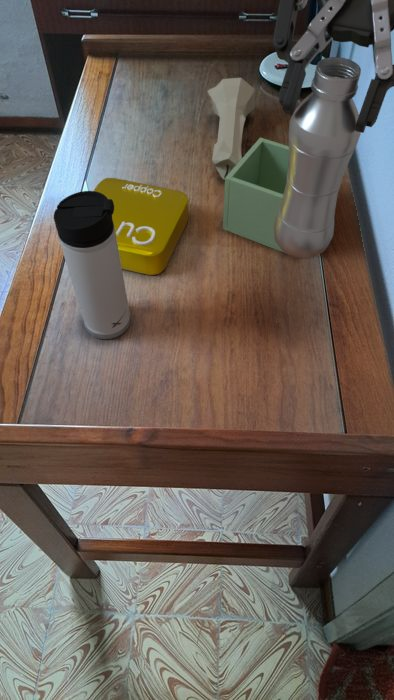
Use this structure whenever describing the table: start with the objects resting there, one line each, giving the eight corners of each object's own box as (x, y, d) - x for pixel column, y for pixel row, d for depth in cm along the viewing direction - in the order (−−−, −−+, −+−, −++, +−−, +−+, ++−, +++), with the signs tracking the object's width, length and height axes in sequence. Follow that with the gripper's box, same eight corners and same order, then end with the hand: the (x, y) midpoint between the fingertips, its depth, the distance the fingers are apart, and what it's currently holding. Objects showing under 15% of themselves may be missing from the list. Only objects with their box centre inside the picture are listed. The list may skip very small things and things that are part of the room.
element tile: (192, 214, 83) (191, 189, 79) (160, 279, 74) (158, 255, 70) (107, 196, 85) (102, 171, 81) (67, 257, 77) (60, 233, 73)
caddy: (324, 213, 83) (337, 161, 75) (295, 257, 77) (306, 206, 69) (254, 188, 86) (260, 137, 78) (222, 229, 81) (224, 177, 73)
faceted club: (260, 106, 99) (256, 192, 86) (218, 115, 102) (208, 200, 88) (251, 61, 92) (246, 148, 79) (206, 72, 95) (194, 158, 81)
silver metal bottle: (302, 275, 56) (346, 98, 39) (258, 243, 59) (282, 65, 42) (340, 247, 58) (396, 70, 42) (296, 218, 61) (332, 40, 45)
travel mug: (131, 339, 68) (110, 224, 52) (82, 340, 68) (46, 225, 52) (134, 304, 72) (115, 185, 55) (87, 304, 72) (54, 186, 55)
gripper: (304, -143, 39) (236, 87, 42) (503, -121, 35) (410, 128, 39) (312, -77, 46) (253, 115, 49) (478, -53, 42) (402, 151, 46)
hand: (323, 120), depth 44 cm, fingers closed on silver metal bottle, 6 cm apart
